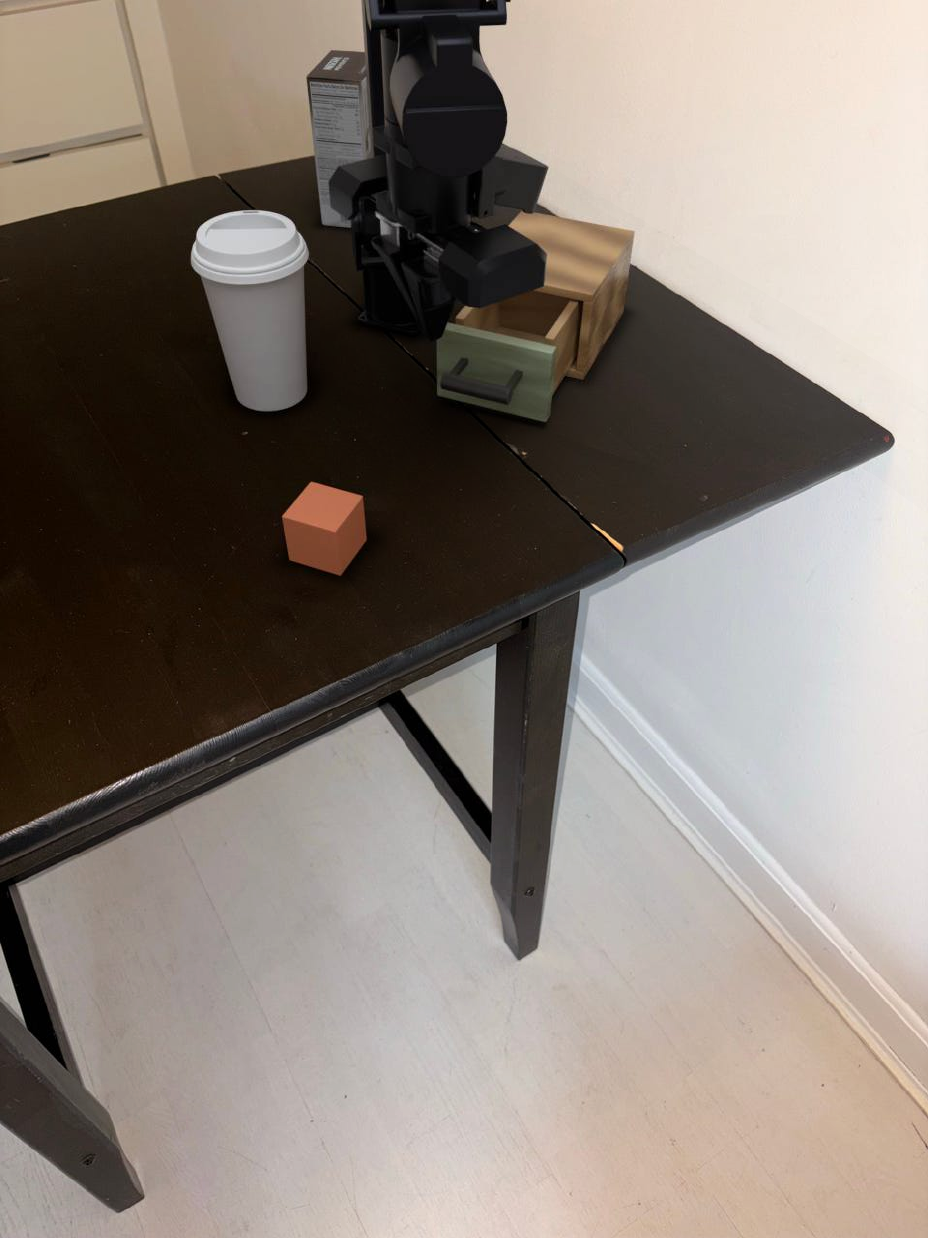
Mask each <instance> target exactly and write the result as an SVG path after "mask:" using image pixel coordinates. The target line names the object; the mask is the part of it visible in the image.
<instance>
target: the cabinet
mask: <svg viewBox="0 0 928 1238" xmlns="http://www.w3.org/2000/svg"><path fill="white" fill-rule="evenodd" d="M508 226H509V227H511V228H512V229H514V230H516V231H517V232H519V233H521V234H522V235H524V236H525V237H527V238H529V239H530V240H532V241H534V242H535V243H537V244H538V245H539V246H540V247H541V248H542V249H543V250H544V251H545V252H546V253H547V262H546V276H545V283H544V287H541V288H538V289H535V290H533V291H537V292H542V293H547V294H552V295H557V296H561V297H566V298H571V299H576V300H580V301H584V302H583V311H582V320H581V329H580V338H579V348H578V355H577V357H576V358H575V360H574V362H573V363H572V365H571V366H570V368H569V370H568V371H567V373H566V374H565V376H564V377H568V378H573V379H577V380H581V381H584V379H585V377H586V376H587V374H588V372H589V371H590V369H591V367H592V366H593V364H594V363H595V360H597V357H598V356H599V354H600V353H601V350H602V349H603V348H604V346H605V344H606V343H607V340H608V339H609V337H610V336H611V334H612V333H613V330H614V329H615V327H616V325H617V324H618V323H619V320H620V318H621V317H622V315H623V314H624V309H625V303H626V295H627V290H628V282H629V276H630V275H629V274H630V268H631V261H632V254H633V246H634V239H635V230H631V229H626V228H625V229H624V228H620V227H615V226H610V225H604V224H597V223H593V222H589V221H583V220H577V219H572V218H567V217H561V216H555V215H552V214H551V215H550V214H545V213H540V212H535V211H534V213H533V214H528V213H524V212H523V211H522V210H520V212H518V213H517V215H516V216H515V217H514V219H513V220H512V221H511V222H510V224H509V225H508Z"/></svg>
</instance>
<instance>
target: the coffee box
mask: <svg viewBox="0 0 928 1238" xmlns="http://www.w3.org/2000/svg"><path fill="white" fill-rule="evenodd" d="M305 78H306V86H307V97H308V104H309V114H310V123H311V125H310V126H311V133H312V144H313V153H314V163H315V172H316V181H317V189H318V191H317V192H318V201H319V208H320V218H321V225H323V226H328V227H338V228H348V229H351V219H350V220H347V219H346V218H345V217H343V216H342V215H340V214H339V213H338V212H336V211H335V210H334V209H332V208H331V205H330V195H329V184H328V182H329V180H330V179H331V177H332V175H333V174H334V172H335V171H336V169H337V167H338V166H341V165H345V164H349V163H353V162H357V161H361V160H365V159H367V157H368V155H369V153H370V151H371V142H370V126H369V111H368V95H367V80H366V64H365V51H355V50H337V49H333V50H332V49H331V50H330V51H329V52H328V53H327V54H326V55H324V57H323V58H322V59H321V60H320V61H319V62H318V63H317V64H316V65H315V67H314V68H313V69H312V70H311V71H310V72H309V73H308V74H307V75H306V77H305Z"/></svg>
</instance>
